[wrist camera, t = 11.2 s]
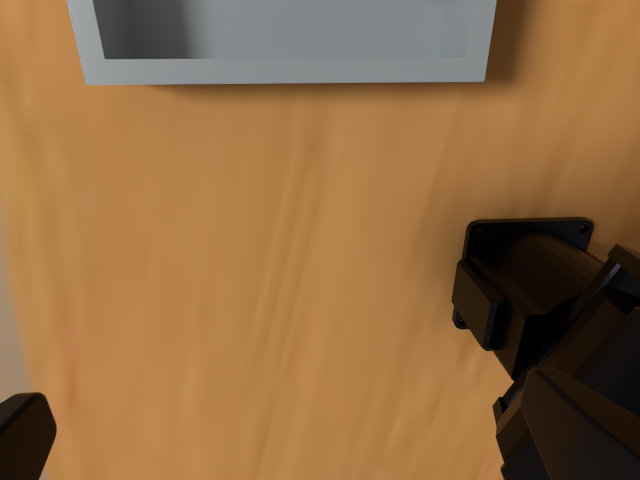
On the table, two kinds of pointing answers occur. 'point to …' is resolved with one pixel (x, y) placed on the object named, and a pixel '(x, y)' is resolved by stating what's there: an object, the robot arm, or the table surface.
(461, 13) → the tray
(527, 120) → the table surface
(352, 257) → the table surface
